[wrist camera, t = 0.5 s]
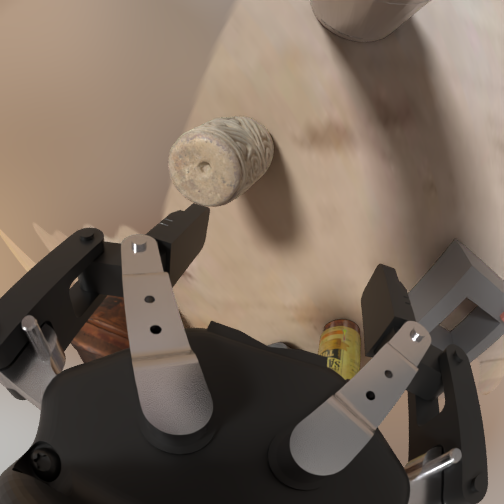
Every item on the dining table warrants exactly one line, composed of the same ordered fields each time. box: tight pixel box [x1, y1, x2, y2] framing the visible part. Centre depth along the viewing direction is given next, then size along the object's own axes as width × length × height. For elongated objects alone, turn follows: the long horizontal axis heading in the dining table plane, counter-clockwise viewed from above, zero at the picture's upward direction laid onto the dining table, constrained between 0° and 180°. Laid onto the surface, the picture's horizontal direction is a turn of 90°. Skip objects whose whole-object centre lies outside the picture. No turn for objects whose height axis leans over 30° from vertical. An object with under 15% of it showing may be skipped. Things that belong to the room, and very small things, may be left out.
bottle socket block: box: [408, 238, 504, 362], centre depth 30 cm, size 16×16×7 cm
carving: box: [168, 116, 274, 207], centre depth 25 cm, size 6×8×12 cm
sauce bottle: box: [318, 319, 361, 382], centre depth 33 cm, size 6×6×20 cm
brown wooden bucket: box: [71, 295, 130, 363], centre depth 43 cm, size 18×20×18 cm
